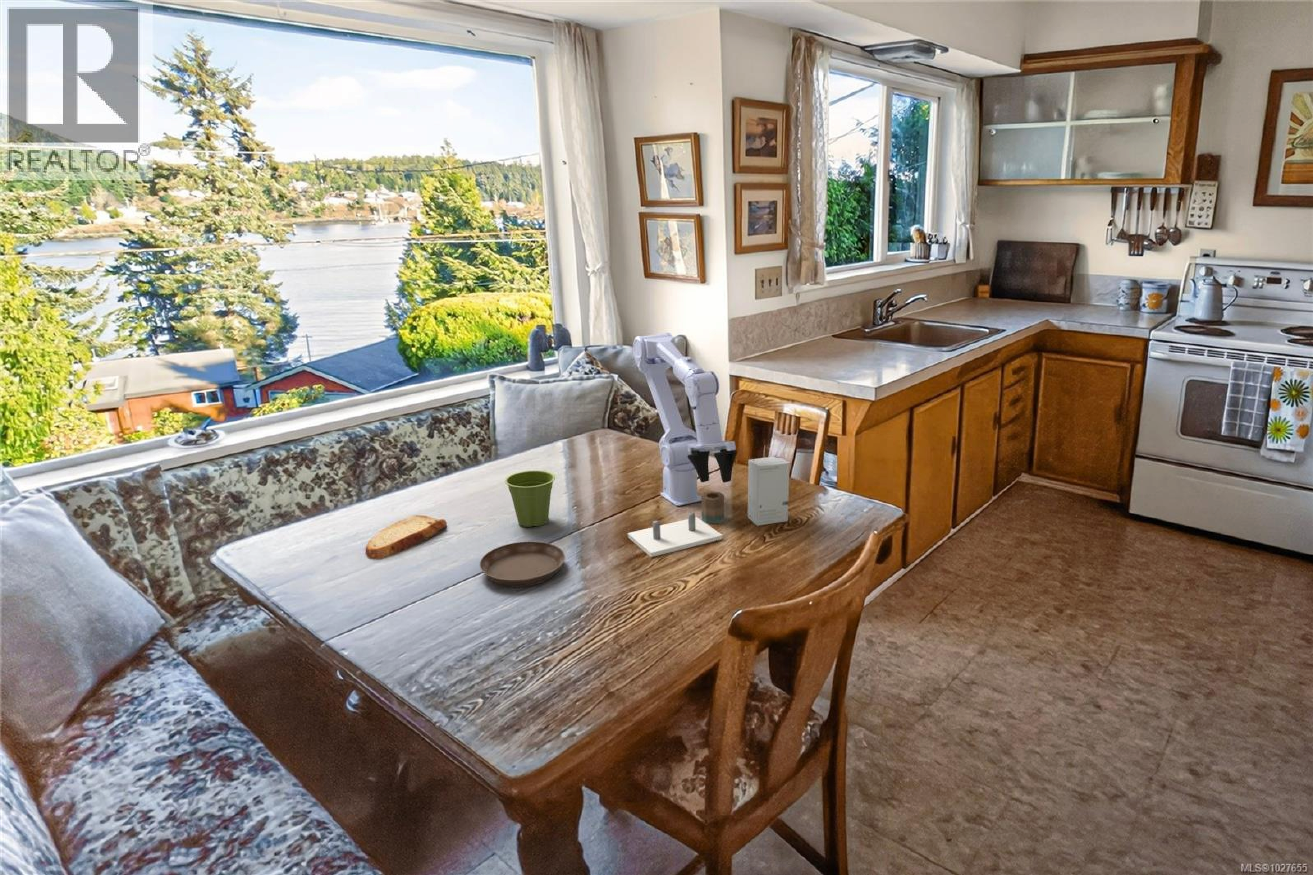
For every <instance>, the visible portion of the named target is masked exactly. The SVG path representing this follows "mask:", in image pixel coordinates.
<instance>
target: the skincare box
mask: <svg viewBox="0 0 1313 875" xmlns="http://www.w3.org/2000/svg"><path fill="white" fill-rule="evenodd" d="M747 465H748V472H747V474H748V476H747V477H748V478H747V480H748V482H747V518H748V519H750V521H751V522H752V523H753V524H754V525H756V526H757V527H759V526H765V525H766V526H767V525H772V524H777V523H785V522H788V519H789V496H790V495H789V493H790V492H789V491H790V490H789V489H790V462H789V461H788V460H785V458H782V457H781V456H771V457H770V456H769V457H761V458H754V459H753V458H751V459H748V464H747Z"/></svg>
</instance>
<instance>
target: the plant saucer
mask: <svg viewBox="0 0 1313 875" xmlns="http://www.w3.org/2000/svg"><path fill="white" fill-rule="evenodd" d="M565 560H566V555H565V552H564V551H563V550H562V549H561V548H560V547H559V546H557V545H555V544H552V543H548V542H542V541H532V540H531V541H518V542H512V543H507V544H504V545H500V546H497V547H496V548H493V549H491V550H489V551H488V552H487V553H486V554H485V555H483V556H482V558H481V559H480V561H479V568H480V570H481V572H482V573H483V574H484V575H485V576H486V577H487V578H488V579H490V580H491V581H492V582H494V583H495V584H498V585H499V586H505V587H511V588H512V587H514V588H517V587H518V588H519V587H529V586H533V585H538V584H540V583H543V582H545V581H548V580H549V579H551V578H552V577H553V576H554V575H555V574H557V572H558V571H559V570H560V568H561V567H562V566H563V563H564V562H565Z"/></svg>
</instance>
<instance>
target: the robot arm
mask: <svg viewBox="0 0 1313 875" xmlns="http://www.w3.org/2000/svg"><path fill="white" fill-rule="evenodd" d="M676 345H677V344H676V340H675V337H674V336H673V335H672V334H671V333H670V332H665V333H658V334H651V335H649V334H648V335H642V336H641V335H637V336H635V338H634V340H633V344H632V353H633V354H632V355H633V357H634V360H635V362H636V365H637V368H638V370H639V372H640V373H642V374H644V376H645V379H646V381H647V385H648V387H649V390H650V393H651V396H652V398H653V399H652V400H653V401H654V405H655V407H656V410H657V413H658V415H659V416H658V417H659V418H660V422H661V425H662V427H663V431H664V434H663V435H662V436H661V438H660V440H659V441H658V447H659V453H660V458H661V462H662V465H664V467H663V470H662V482H663V483H662V485H663V492H660V496H662V497H663V498H664V499H666V500H667V501H669V502H670V503H672V504H673V505H674V506H675V507H681V506H684V505H690V504H693V503H699V502H702V499H701V496H702V495H699V494H698V479H699V480H700V483H705V482H709V481H710V471H709V458H710V453H711V452H713V456H714V458H715V460H716V462H717V464H718V468H719V472H720V473H719V474H720V477H721V481H722V483H729V482H731V481H732V474H733V466H734V464H735V463H734V462H735V458H736V456H737V455H738V450H737V447H736V442H735V441H736V440H731V441H730V440H723V438H722V437H723V436H722V431H721V424H720V417H719V409H718V403H717V402H718V401H717V395H718V394H719V391H720V383H719V378H718V376H717V375H716V373H715V372H714V371H713V370H710V371H707V370H704V369H703V368H702V367H701V366H700V365H699V364H698V363H697V362H696V361H694V359H693V358H692V357H691V356H684V355H683V354H682V353H681V352H680V350H679V349H678V348H677V346H676ZM671 367H672V373H673V375H674V376H675V377H676V379H678V380H679V382H681V383H682V384H683V385H684V389H685V390H684V391H685V395H686V396H687V398H688V401H689V405H690V407H692V412H693V418H694V425H695V430H693V429H691V428H688V427H686V426H685V425H684V423H683V420H682V416H681V413H680V411H679V409H678V405H677V402H676V400H675V397H674V394H673V392H672V389H671V386H670V383H669V380H668V378H667V375H666V371H667V370H668V369H670V368H671ZM716 451H717V452H716Z"/></svg>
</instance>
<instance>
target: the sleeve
mask: <svg viewBox="0 0 1313 875" xmlns="http://www.w3.org/2000/svg"><path fill="white" fill-rule="evenodd" d="M700 496H701V499H702V501H701V521H703V522H704V523H706V522H707V523H706V524H718V523H722V522H723V521H724V520H725V495H724V494H723V493H722V492H719V491H708V492H703V494H702V495H700ZM723 519H724V520H723ZM717 522H718V523H717Z"/></svg>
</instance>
